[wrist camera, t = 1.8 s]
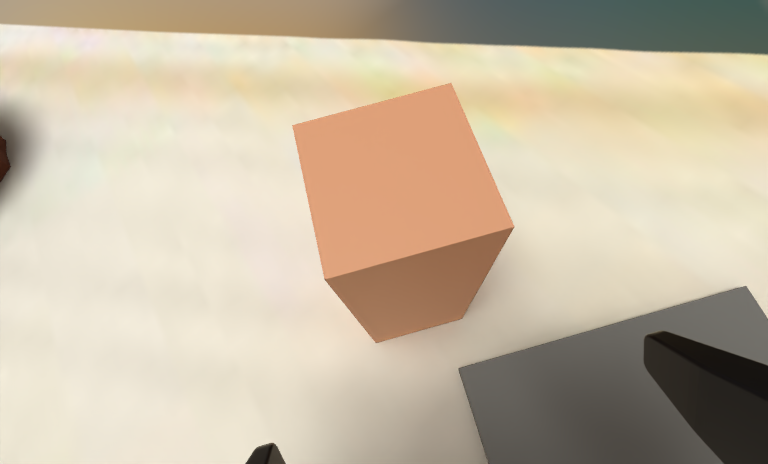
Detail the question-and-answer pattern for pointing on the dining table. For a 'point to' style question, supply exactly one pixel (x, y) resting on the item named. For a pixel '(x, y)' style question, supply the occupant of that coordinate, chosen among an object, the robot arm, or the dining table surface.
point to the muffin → (3, 159)
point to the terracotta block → (402, 210)
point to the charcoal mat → (604, 390)
